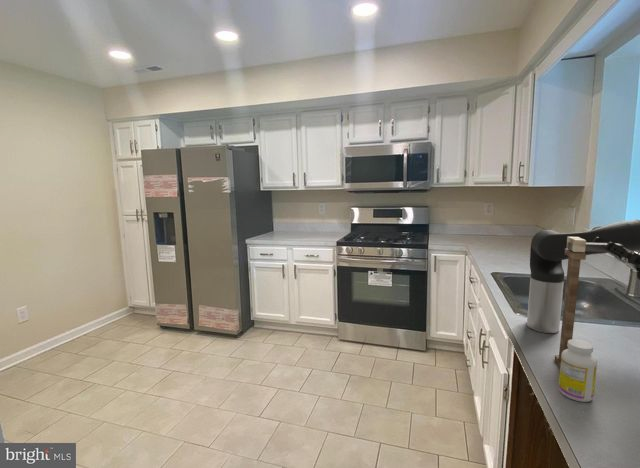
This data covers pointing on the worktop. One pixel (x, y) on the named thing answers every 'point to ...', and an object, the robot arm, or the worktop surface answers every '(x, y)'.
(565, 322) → the walnut stand
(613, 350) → the worktop surface
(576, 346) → the supplement bottle
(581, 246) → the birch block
